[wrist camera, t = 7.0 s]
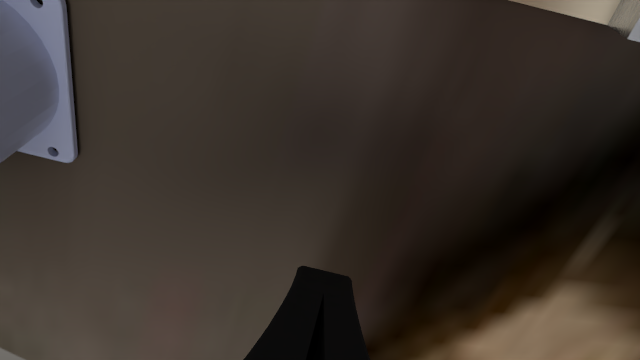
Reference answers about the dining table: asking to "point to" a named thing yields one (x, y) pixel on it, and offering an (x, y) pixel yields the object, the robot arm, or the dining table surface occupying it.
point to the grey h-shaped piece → (627, 19)
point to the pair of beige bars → (578, 8)
